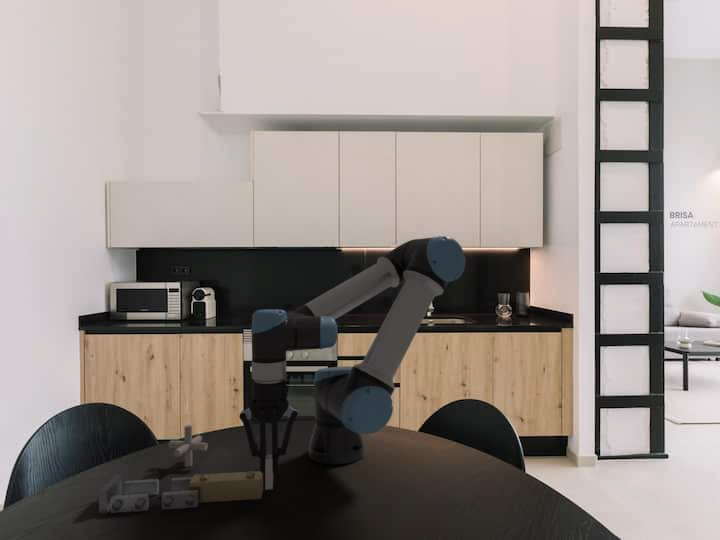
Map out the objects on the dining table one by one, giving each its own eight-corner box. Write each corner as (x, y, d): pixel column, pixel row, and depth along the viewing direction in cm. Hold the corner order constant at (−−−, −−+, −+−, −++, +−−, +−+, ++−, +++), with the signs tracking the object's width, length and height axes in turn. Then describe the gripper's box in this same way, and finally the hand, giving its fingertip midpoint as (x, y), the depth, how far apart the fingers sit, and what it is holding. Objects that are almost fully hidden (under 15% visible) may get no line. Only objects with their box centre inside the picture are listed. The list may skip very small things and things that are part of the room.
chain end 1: (159, 491, 103) (159, 471, 103) (145, 512, 93) (145, 490, 94) (116, 494, 101) (116, 473, 101) (97, 515, 92) (97, 493, 92)
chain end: (205, 488, 104) (205, 474, 104) (196, 508, 95) (196, 494, 95) (173, 490, 103) (173, 476, 103) (161, 511, 94) (160, 496, 94)
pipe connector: (195, 475, 110) (195, 434, 110) (158, 472, 112) (158, 431, 112) (216, 458, 120) (216, 420, 120) (182, 456, 122) (182, 418, 122)
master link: (263, 491, 103) (262, 468, 103) (261, 499, 99) (260, 476, 99) (194, 495, 101) (194, 472, 101) (189, 504, 97) (189, 480, 97)
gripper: (298, 374, 106) (299, 477, 105) (241, 376, 104) (241, 480, 104) (298, 382, 98) (298, 492, 98) (236, 384, 97) (236, 496, 96)
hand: (269, 486), depth 101 cm, fingers closed
